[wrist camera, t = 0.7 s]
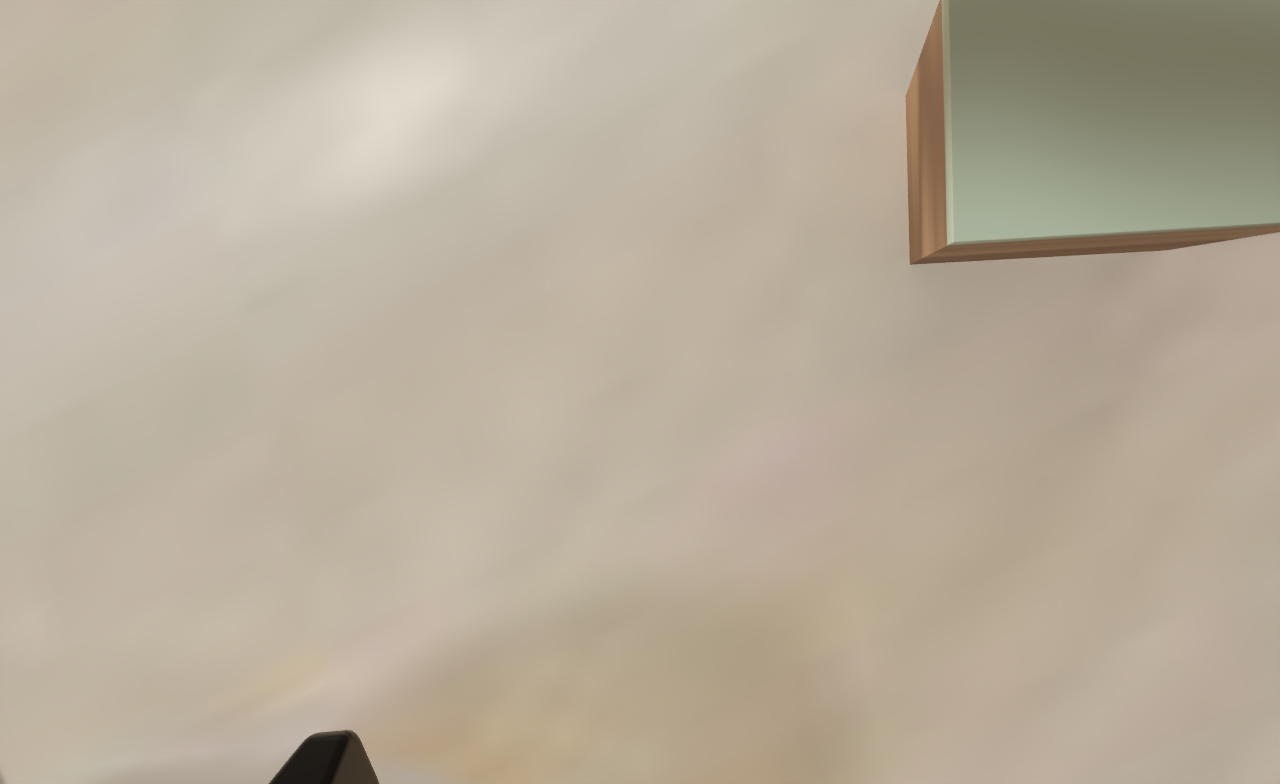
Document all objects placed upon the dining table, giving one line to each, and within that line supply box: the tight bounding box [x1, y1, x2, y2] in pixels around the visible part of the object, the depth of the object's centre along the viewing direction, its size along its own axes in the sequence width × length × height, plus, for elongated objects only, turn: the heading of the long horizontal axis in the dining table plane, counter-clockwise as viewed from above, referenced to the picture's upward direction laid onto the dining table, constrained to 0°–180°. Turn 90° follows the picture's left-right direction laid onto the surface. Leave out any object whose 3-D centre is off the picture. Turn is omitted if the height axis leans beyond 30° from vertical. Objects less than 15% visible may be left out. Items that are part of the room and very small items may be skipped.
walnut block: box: [906, 0, 1280, 264], centre depth 16 cm, size 4×5×8 cm
